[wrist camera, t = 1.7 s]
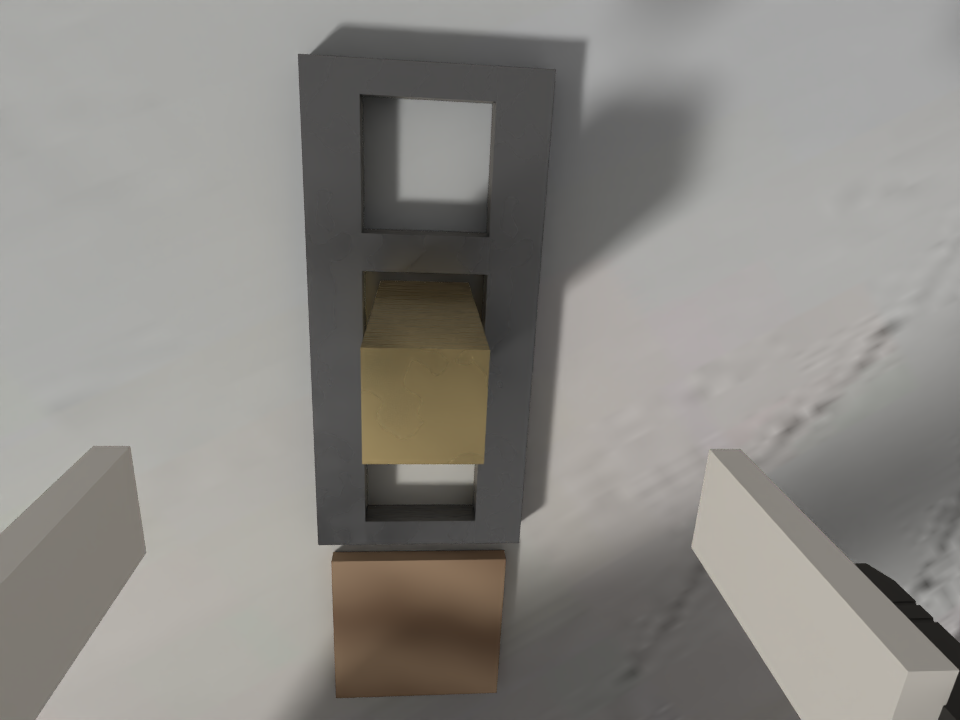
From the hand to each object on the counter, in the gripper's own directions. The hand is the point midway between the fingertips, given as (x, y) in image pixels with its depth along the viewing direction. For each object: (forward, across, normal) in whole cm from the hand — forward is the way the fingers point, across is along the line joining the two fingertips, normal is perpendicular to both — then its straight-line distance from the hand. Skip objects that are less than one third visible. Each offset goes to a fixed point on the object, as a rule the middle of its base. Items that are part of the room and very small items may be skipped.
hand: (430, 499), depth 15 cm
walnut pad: (+16, 0, +18) cm, 24 cm away
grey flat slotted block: (+16, 0, 0) cm, 16 cm away
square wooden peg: (+16, 0, 0) cm, 16 cm away
